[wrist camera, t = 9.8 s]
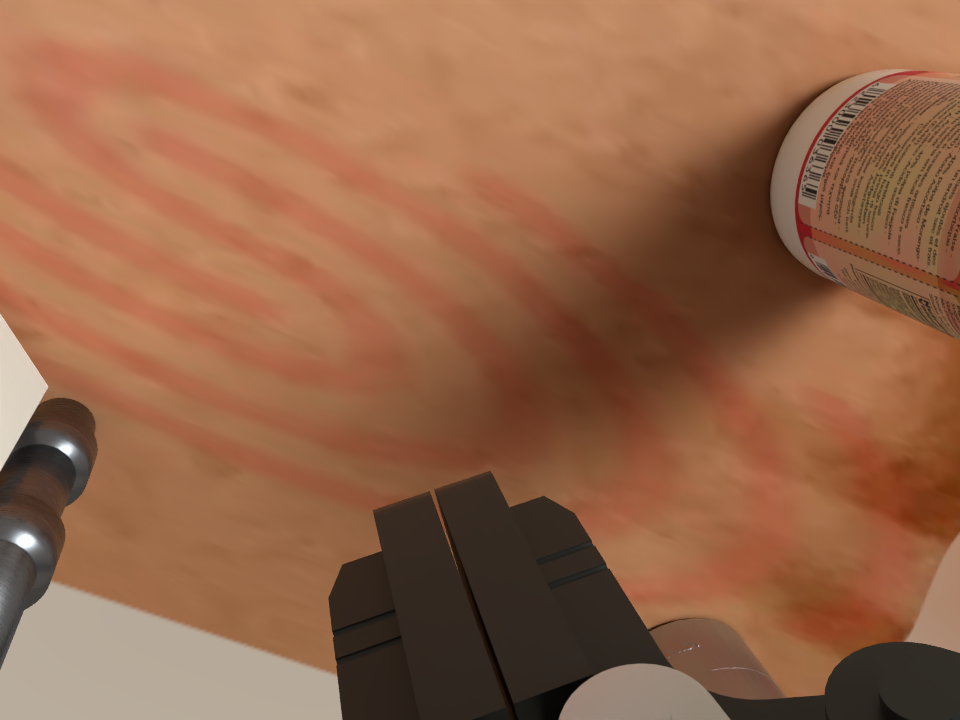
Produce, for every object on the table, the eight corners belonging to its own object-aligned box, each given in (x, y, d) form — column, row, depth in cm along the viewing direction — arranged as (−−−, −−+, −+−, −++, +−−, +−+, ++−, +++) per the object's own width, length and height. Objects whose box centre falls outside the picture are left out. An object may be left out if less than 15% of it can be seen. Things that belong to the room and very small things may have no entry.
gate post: (122, 433, 35) (44, 671, 22) (56, 473, 35) (-60, 734, 22) (70, 374, 33) (-45, 592, 21) (1, 416, 33) (-157, 659, 21)
